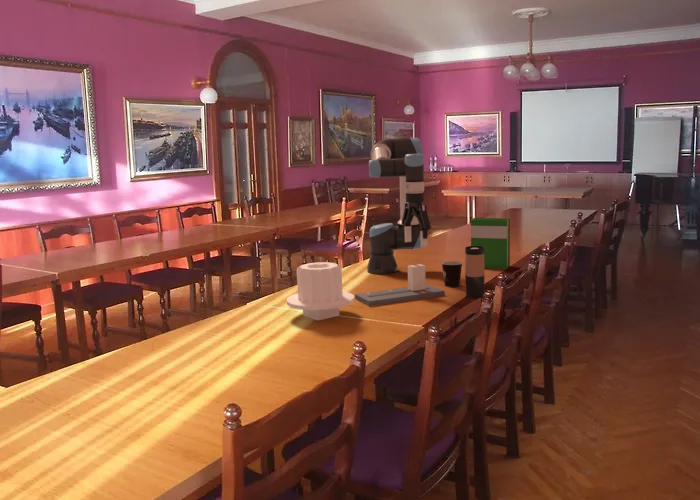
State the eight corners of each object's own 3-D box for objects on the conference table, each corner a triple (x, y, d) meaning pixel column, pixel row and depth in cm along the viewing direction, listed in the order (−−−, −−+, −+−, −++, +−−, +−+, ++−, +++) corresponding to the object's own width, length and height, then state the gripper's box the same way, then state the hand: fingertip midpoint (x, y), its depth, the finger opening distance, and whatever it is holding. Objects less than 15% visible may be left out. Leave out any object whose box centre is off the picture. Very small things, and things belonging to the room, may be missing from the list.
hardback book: (509, 266, 308) (510, 218, 304) (506, 269, 302) (507, 220, 298) (474, 264, 316) (474, 217, 312) (471, 267, 309) (470, 219, 305)
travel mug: (485, 294, 254) (485, 246, 251) (483, 298, 247) (483, 249, 244) (466, 293, 257) (466, 245, 253) (463, 297, 250) (463, 248, 246)
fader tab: (408, 289, 258) (407, 265, 256) (420, 287, 260) (420, 263, 258) (412, 291, 254) (412, 266, 252) (425, 289, 256) (425, 265, 255)
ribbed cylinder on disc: (275, 315, 234) (272, 266, 230) (329, 303, 248) (326, 257, 245) (312, 329, 214) (309, 275, 211) (368, 315, 229) (366, 265, 226)
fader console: (355, 298, 255) (354, 293, 254) (427, 288, 267) (427, 283, 267) (369, 306, 242) (368, 300, 241) (444, 295, 255) (444, 290, 254)
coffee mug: (461, 287, 267) (461, 265, 265) (441, 287, 268) (441, 265, 267) (462, 281, 278) (462, 260, 276) (443, 281, 280) (442, 260, 278)
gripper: (392, 191, 260) (394, 240, 264) (421, 195, 238) (422, 249, 241) (408, 189, 263) (409, 239, 267) (438, 193, 241) (439, 247, 244)
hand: (415, 244), depth 254 cm, fingers open, 13 cm apart
